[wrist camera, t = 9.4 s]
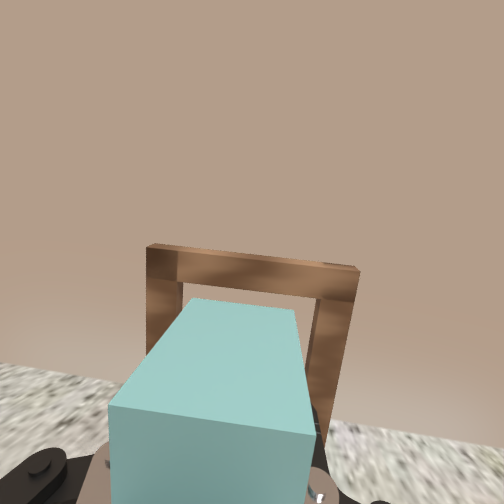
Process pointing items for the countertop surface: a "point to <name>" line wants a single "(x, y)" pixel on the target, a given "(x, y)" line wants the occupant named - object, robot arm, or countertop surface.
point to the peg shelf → (263, 280)
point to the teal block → (215, 412)
